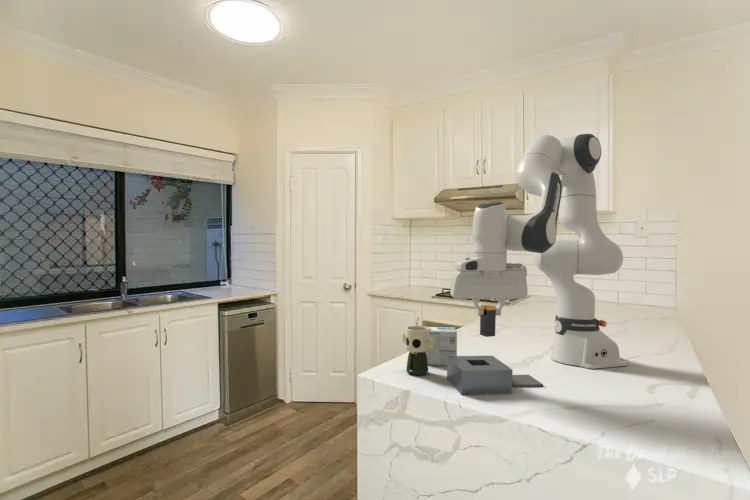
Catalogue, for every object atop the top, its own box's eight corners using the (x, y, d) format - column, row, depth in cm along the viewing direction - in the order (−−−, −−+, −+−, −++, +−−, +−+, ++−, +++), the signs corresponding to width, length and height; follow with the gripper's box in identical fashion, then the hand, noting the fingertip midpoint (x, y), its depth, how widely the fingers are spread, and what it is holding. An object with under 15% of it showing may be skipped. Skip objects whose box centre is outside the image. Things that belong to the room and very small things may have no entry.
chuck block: (485, 371, 120) (485, 350, 120) (512, 393, 102) (512, 369, 102) (442, 372, 119) (442, 351, 119) (461, 394, 101) (461, 370, 101)
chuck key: (495, 336, 108) (495, 305, 108) (486, 336, 107) (486, 306, 107) (488, 333, 111) (489, 304, 111) (480, 334, 110) (480, 304, 110)
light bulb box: (455, 360, 131) (455, 326, 131) (457, 366, 125) (457, 331, 125) (421, 359, 133) (422, 325, 132) (422, 365, 126) (422, 330, 126)
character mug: (394, 371, 119) (395, 327, 118) (409, 366, 124) (409, 323, 124) (426, 380, 112) (426, 332, 111) (440, 374, 117) (440, 328, 117)
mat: (528, 376, 116) (528, 374, 116) (542, 386, 108) (542, 384, 108) (501, 377, 115) (501, 375, 115) (513, 387, 107) (513, 384, 107)
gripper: (521, 262, 113) (520, 312, 113) (448, 262, 111) (448, 313, 111) (532, 264, 106) (531, 317, 107) (455, 264, 104) (454, 318, 105)
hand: (488, 315), depth 109 cm, fingers closed on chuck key, 3 cm apart
